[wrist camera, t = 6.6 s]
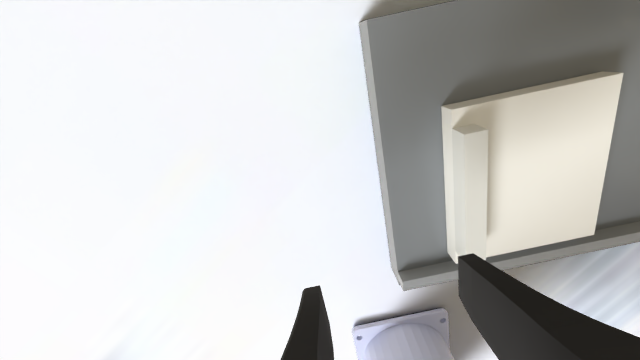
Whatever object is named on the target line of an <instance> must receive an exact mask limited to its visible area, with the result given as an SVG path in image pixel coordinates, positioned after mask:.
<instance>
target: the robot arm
mask: <svg viewBox="0 0 640 360" xmlns="http://www.w3.org/2000/svg"><path fill="white" fill-rule="evenodd" d="M458 282H459V297H460V299H461V301H462V303H463V305H464V307H465V309H466V310H467V312H468V314H469V316H470V318H471V320H472V321H473V323H474V324H475V326H476V327H477V329H478V330H479V332H480V333H481V335H482V336H483V338H484V339H485V340H486V342H487V343H488V345H489V346H490V348H491V349H492V351H493V352H494V353H495V355H496V356H497V358H498V359H499V360H640V337H637V336H634V335H632V334H629V333H627V332H624V331H622V330H619V329H616V328H614V327H611V326H609V325H606V324H604V323H602V322H599V321H597V320H595V319H592V318H590V317H588V316H586V315H584V314H581V313H579V312H577V311H575V310H573V309H570V308H568V307H566V306H564V305H562V304H560V303H558V302H556V301H554V300H553V299H551V298H549V297H547V296H545V295H543V294H541V293H539V292H537V291H536V290H534V289H532V288H530V287H528V286H527V285H525V284H523V283H521V282H520V281H518V280H516V279H515V278H513V277H511V276H510V275H508V274H506V273H505V272H503V271H501V270H500V269H498V268H496V267H495V266H493V265H492V264H490V263H488V262H487V261H485V260H483V259H482V258H480V257H479V256H477V255H475V254H474V253H472V254H467V255H462V256H458ZM352 335H353V339H354V344H355V348H356V353H357V358H358V360H454V358H453V356H452V354H451V352H450V340H449V318H448V312H447V311H446V309H444V308H440V309H435V310H430V311H425V312H421V313H416V314H411V315H406V316H401V317H397V318H392V319H387V320H382V321H378V322H373V323H368V324H363V325H358V326H355V327H354V328H353V329H352ZM281 360H334V352H333V344H332V337H331V330H330V324H329V320H328V316H327V312H326V308H325V304H324V300H323V296H322V292H321V288H320V286H315V287H310V288H305V289H304V290H303V292H302V298H301V302H300V306H299V310H298V313H297V317H296V320H295V323H294V326H293V329H292V332H291V335H290V338H289V340H288V343H287V345H286V348H285V350H284V353H283V355H282V358H281Z"/></svg>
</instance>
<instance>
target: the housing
mask: <svg viewBox="0 0 640 360" xmlns="http://www.w3.org/2000/svg"><path fill="white" fill-rule="evenodd" d="M359 28H360V36H361V43H362V51H363V58H364V66H365V73H366V81H367V88H368V96H369V103H370V111H371V118H372V126H373V133H374V141H375V148H376V156H377V163H378V171H379V178H380V186H381V193H382V201H383V208H384V216H385V223H386V231H387V238H388V246H389V253H390V261H391V268H392V270H393V272H394V274H395V277H396V279H397V281H398V283H399V285H401V287H402V289H403V291H407V290H411V289H416V288H421V287H426V286H430V285H435V284H440V283H445V282H449V281H454V280H458V263H457V264H456V263H455V262H454V261H453V259H452V258H451V257H450V255H449V254H448V253H447V229H446V206H445V182H444V159H443V135H442V112H441V106H444V105H448V104H453V103H458V102H462V101H467V100H472V99H476V98H481V97H486V96H490V95H495V94H500V93H504V92H509V91H514V90H518V89H523V88H528V87H532V86H537V85H542V84H546V83H551V82H555V81H560V80H565V79H569V78H574V77H579V76H583V75H588V74H593V73H597V72H602V71H603V72H618V73H623V79H622V84H621V90H620V95H619V101H618V106H617V112H616V117H615V123H614V128H613V134H612V139H611V145H610V150H609V156H608V161H607V167H606V172H605V178H604V183H603V189H602V194H601V200H600V205H599V211H598V216H597V222H596V227H595V233H594V235H591V236H586V237H581V238H576V239H572V240H567V241H562V242H557V243H553V244H548V245H543V246H538V247H533V248H529V249H524V250H519V251H514V252H510V253H505V254H500V255H495V256H491V257H486V260H485V261H487V262H488V263H490V264H492V265H493V266H495V267H496V268H498V269H500V270H501V271H502V270H507V269H511V268H516V267H521V266H526V265H531V264H535V263H540V262H545V261H550V260H554V259H559V258H564V257H569V256H573V255H578V254H583V253H588V252H593V251H597V250H602V249H607V248H612V247H616V246H621V245H626V244H631V243H635V242H640V0H455V1H450V2H445V3H441V4H436V5H432V6H427V7H422V8H418V9H413V10H409V11H404V12H400V13H395V14H390V15H386V16H381V17H377V18H372V19H367V20H365V21H362V22H360V23H359Z"/></svg>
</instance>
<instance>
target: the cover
mask: <svg viewBox="0 0 640 360" xmlns="http://www.w3.org/2000/svg"><path fill="white" fill-rule="evenodd" d="M622 79H623V73H618V72H603V71H602V72H597V73H593V74H588V75H583V76H579V77H574V78H569V79H565V80H560V81H555V82H551V83H546V84H542V85H537V86H532V87H528V88H523V89H518V90H514V91H509V92H504V93H500V94H495V95H490V96H486V97H481V98H476V99H472V100H467V101H462V102H458V103H453V104H448V105H444V106H441V112H442V135H443V159H444V182H445V206H446V229H447V253H448V254H449V255H450V257H451V258H452V259H453V261H454V262H455V263H456V264H457V263H458V256H462V255H467V254H472V253H474V254H475V255H477V256H479V257H480V258H482V259H483V260H486V257H491V256H495V255H500V254H505V253H510V252H514V251H519V250H524V249H529V248H533V247H538V246H543V245H548V244H553V243H557V242H562V241H567V240H572V239H576V238H581V237H586V236H591V235H594V233H595V227H596V222H597V216H598V211H599V205H600V200H601V194H602V189H603V183H604V178H605V172H606V167H607V161H608V156H609V150H610V145H611V139H612V134H613V128H614V123H615V117H616V112H617V106H618V101H619V95H620V90H621V84H622Z"/></svg>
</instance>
